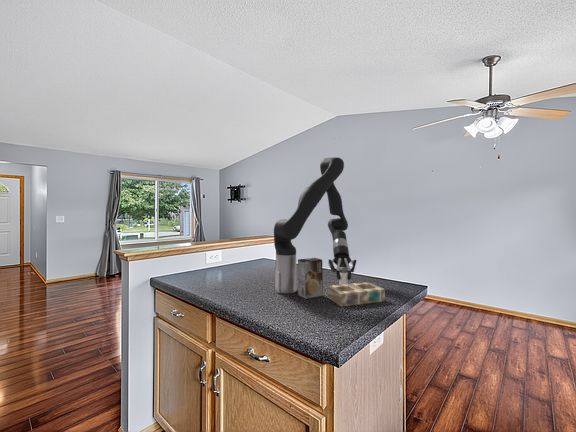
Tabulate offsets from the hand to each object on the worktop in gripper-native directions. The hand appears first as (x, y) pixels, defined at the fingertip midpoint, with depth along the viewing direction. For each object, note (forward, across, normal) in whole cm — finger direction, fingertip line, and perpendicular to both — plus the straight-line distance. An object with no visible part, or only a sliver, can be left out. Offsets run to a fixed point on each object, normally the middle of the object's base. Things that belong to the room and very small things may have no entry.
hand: (344, 279), depth 133 cm
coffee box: (+9, -16, -1) cm, 18 cm away
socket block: (+12, +3, -4) cm, 13 cm away
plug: (+2, 0, +5) cm, 5 cm away
